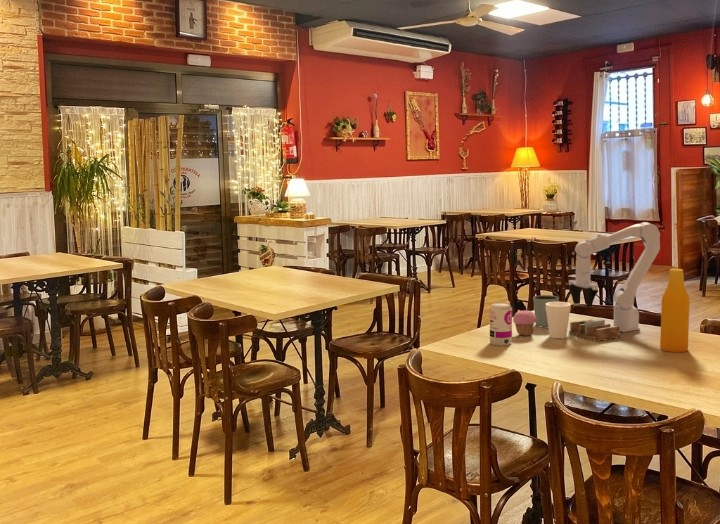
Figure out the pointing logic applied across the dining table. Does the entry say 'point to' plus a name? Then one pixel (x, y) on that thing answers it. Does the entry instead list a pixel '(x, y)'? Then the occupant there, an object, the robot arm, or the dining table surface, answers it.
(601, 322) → the grey-green rectangular block
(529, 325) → the cupcake
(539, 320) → the grey-green pot
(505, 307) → the supplement can
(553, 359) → the dining table surface
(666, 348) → the beer bottle
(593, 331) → the rack
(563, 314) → the foam cup
